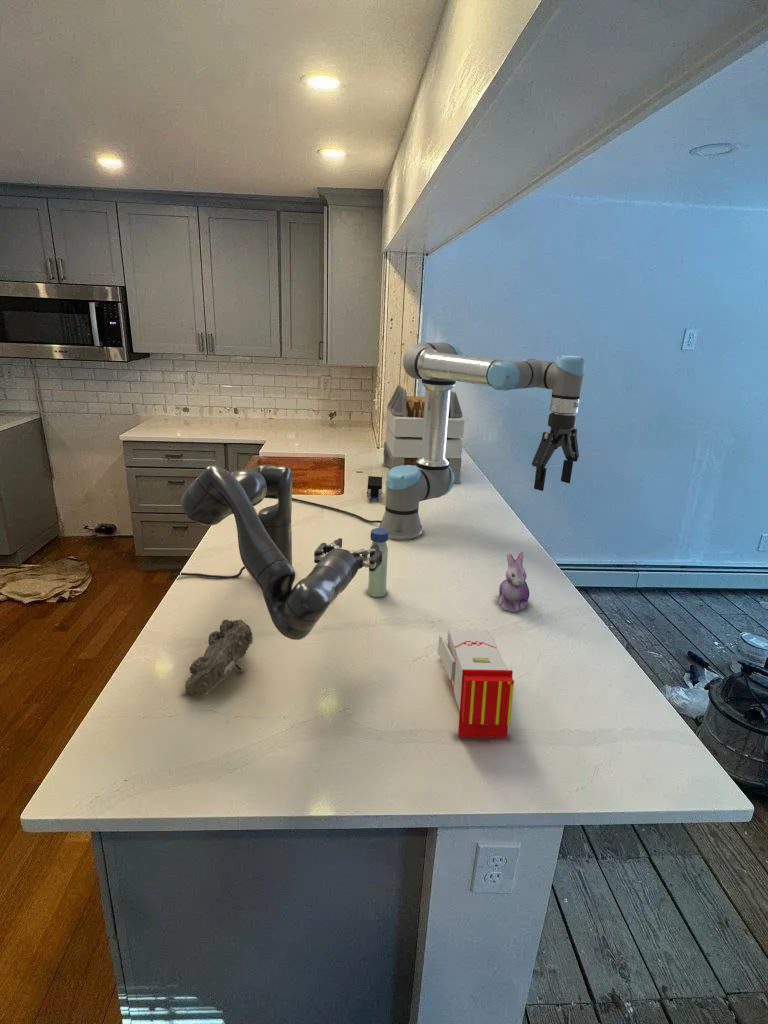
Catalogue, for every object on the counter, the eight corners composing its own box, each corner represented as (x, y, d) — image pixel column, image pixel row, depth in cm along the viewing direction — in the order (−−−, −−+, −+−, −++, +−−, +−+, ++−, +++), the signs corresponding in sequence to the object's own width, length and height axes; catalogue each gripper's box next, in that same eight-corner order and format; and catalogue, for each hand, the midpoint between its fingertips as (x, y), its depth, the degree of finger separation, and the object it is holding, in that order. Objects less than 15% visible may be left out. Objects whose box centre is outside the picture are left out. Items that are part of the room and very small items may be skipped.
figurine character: (382, 506, 231) (382, 491, 244) (383, 489, 227) (382, 474, 241) (366, 505, 230) (366, 490, 244) (366, 488, 227) (367, 474, 240)
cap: (370, 535, 155) (370, 527, 154) (387, 536, 155) (387, 528, 154) (370, 542, 150) (370, 534, 149) (388, 543, 150) (388, 534, 150)
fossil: (205, 622, 132) (252, 592, 127) (234, 650, 134) (280, 621, 129) (164, 690, 112) (217, 657, 107) (198, 721, 115) (251, 691, 110)
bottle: (367, 588, 160) (370, 529, 154) (385, 588, 160) (388, 529, 154) (368, 596, 156) (370, 535, 149) (386, 597, 156) (389, 536, 150)
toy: (488, 613, 130) (523, 677, 101) (484, 667, 133) (517, 744, 104) (435, 612, 130) (455, 676, 101) (432, 666, 133) (451, 743, 103)
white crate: (382, 463, 289) (386, 382, 275) (445, 464, 293) (451, 384, 279) (390, 482, 257) (394, 392, 243) (460, 483, 261) (468, 394, 247)
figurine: (511, 616, 149) (518, 564, 143) (487, 598, 157) (493, 549, 152) (539, 609, 153) (547, 558, 148) (514, 592, 161) (521, 544, 156)
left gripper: (301, 584, 119) (329, 555, 133) (366, 595, 115) (387, 563, 130) (301, 551, 116) (329, 525, 131) (367, 561, 113) (388, 533, 127)
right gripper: (548, 419, 148) (537, 496, 155) (598, 411, 163) (586, 482, 171) (525, 414, 153) (515, 489, 160) (575, 407, 169) (564, 476, 176)
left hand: (358, 544), depth 130 cm, fingers open, 8 cm apart
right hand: (552, 485), depth 166 cm, fingers open, 13 cm apart
